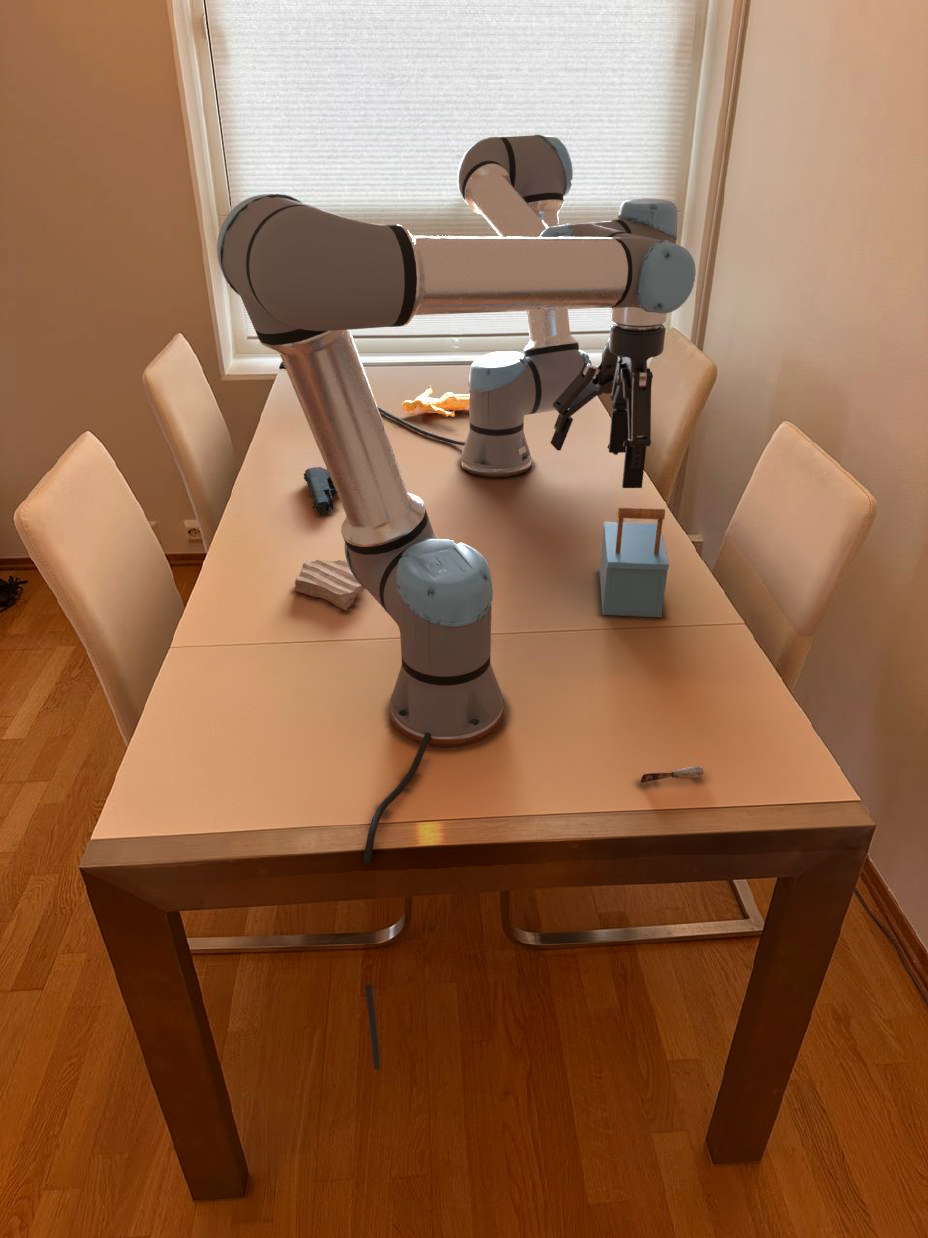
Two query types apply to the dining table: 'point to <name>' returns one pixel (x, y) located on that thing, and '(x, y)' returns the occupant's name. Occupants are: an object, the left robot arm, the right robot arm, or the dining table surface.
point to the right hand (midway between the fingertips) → (584, 449)
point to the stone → (328, 582)
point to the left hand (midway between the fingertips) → (624, 468)
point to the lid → (636, 540)
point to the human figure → (437, 403)
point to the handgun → (320, 489)
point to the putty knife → (674, 774)
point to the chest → (631, 590)
